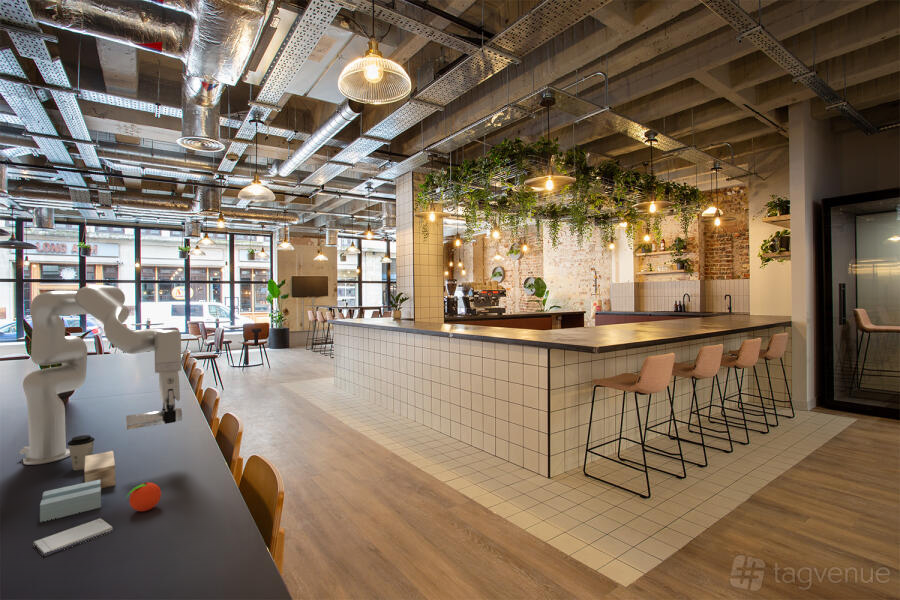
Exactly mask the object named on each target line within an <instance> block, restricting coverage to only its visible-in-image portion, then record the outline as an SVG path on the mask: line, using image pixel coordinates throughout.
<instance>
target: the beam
mask: <svg viewBox="0 0 900 600" xmlns="http://www.w3.org/2000/svg"><path fill="white" fill-rule="evenodd" d="M95 480H100V484H101V489H104V488H109V487H112V486H113V487H114V486H116V463H115V457H114V450H109V451H105V452H100V453H95V454H92V455H88V456H85V469H84V483H86V482H91V481H95Z"/></svg>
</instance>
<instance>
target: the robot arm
mask: <svg viewBox="0 0 900 600" xmlns="http://www.w3.org/2000/svg"><path fill="white" fill-rule="evenodd" d="M125 301H126V296H125V293H124V292H123V291H122V289H121V288H119V287H117V286H114V285H86V286H83V287H81V288H79V289H77V290H52V291H51V290H50V291H45V292H41V293H39V294H38V295H36V296H35V297H34V298H33V299H32V301H31V303H30V306H29V307H30V309H29V311H30V319H31V323H32V331H31V346H30V357H31V361H32V362H33V363H34V364H35V365H37V366H38V365H39V366H52V365H58V364H61V365H60V366H55V367H54V366H53V367H47V368H41V369H37V370H35V371H32V372H30V373H28V374H27V375H26V376H25V377H24V379H23V381H22V388H23V392H24V395H25V398H26V404H27V405H26V406H27V419H28V420H27V422H28V446H23V447H22V448H21V449H20V450H19V454H20V455H25V456H26V457H25V458H23V460H22V463H23V465H31V466H32V465H44V464H48V463H53V462H57V461H60V460H63V459H66V458H68V457H71V456H70V450H69V448H67V446H66V445H67V444H66V443H67V438H66V411H65V410H66V408H65V403H64V402H63V400H62V399H61V398H60V396H59V394H63V393H68V392H71V391H75V390H77V389H80V388H81V387H82V386H83V385H84V384H85V381H86V378H87V377H86V376H87V363H88V347H87V345H86V344H87V343H86V341H84V339H82V338H81V337H79V336H77V335H76V336H75V335H66V324H65V322H64V320H63V319H62V318H61V316H74V315H75V316H76V315H78V316H79V315H91V316H92V317H93V318H94V319H95V320H97V321H99V322H100V323H101V324H102V325H103V332H104V335H105V338H106V339H107V341H108V342H109V343H111V344H112V345H113V346H114V347H116V348H117V349H118V350H120V351H122V352H123V353H125V354H129V355H134V354H135V355H136V354H141V353H142V354H143V353H148V352H154V373H155V374H158V387H159V396H160V397H159V398H160V399H161V401H162V408H161V409H162V410H161V411H163V410H165V411H164V423H165V424H166V425H167V424H174V423H177V422H176V410H175V409H176V401H177V402H179V401H180V400H181V392H180V391H181V390H180V386H181V385H180V376H179V375H180V374H179V372H181V371H182V333H181V332H180V330H178V329H160V328H149V329H147V328H146V329H136V330H132V329H130V328H129V327H127V326H126V325H125V324H124V323H125V322H126V321H127V319H128V318H129V316H130V310H129V308H128V307H127V306H126V305H124V304H125Z"/></svg>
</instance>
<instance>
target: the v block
mask: <svg viewBox="0 0 900 600" xmlns="http://www.w3.org/2000/svg"><path fill="white" fill-rule="evenodd" d="M41 497H42V499H41V500H40V504H39V523H42V522H41V521H44V522H48V521H52V520H56V519H60V518H64V517H68V516H72V515H75V514H79V512H80V513H83V512H84V513H85V512H87V511H91V510H95V509H101V508H102V488H101V484H100V480H95V481H91V482H86V483H85V482H82V483H77V484H73V485H68V486H63V487H59V488H55V489H50V490H45V491H43V493H42V496H41ZM55 518H56V519H55ZM51 519H52V520H51ZM47 520H48V521H47Z"/></svg>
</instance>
